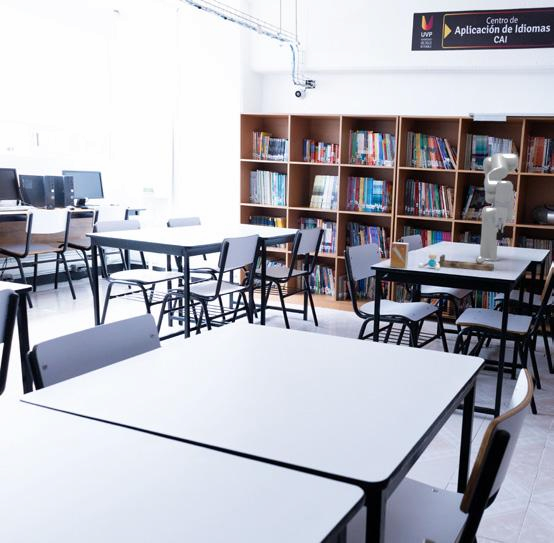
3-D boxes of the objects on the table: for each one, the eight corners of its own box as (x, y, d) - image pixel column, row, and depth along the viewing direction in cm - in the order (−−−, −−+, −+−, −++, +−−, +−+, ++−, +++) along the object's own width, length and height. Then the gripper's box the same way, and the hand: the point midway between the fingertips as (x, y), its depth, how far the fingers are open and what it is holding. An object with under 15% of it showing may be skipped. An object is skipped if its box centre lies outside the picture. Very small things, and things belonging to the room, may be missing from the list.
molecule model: (433, 267, 357) (434, 250, 356) (449, 270, 347) (450, 253, 346) (417, 268, 351) (418, 251, 350) (433, 271, 341) (434, 254, 340)
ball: (475, 263, 355) (476, 255, 355) (484, 263, 354) (484, 255, 353) (474, 264, 351) (475, 256, 351) (483, 265, 350) (484, 256, 349)
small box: (389, 267, 348) (391, 242, 346) (392, 266, 353) (393, 241, 351) (405, 268, 345) (406, 244, 343) (407, 267, 351) (409, 242, 348)
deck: (493, 268, 355) (494, 258, 354) (492, 271, 346) (492, 260, 345) (440, 264, 365) (441, 254, 364) (437, 266, 356) (438, 256, 355)
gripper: (495, 204, 352) (493, 238, 355) (493, 205, 339) (490, 240, 341) (510, 204, 350) (507, 239, 352) (509, 205, 336) (506, 241, 339)
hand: (499, 240), depth 347 cm, fingers closed
